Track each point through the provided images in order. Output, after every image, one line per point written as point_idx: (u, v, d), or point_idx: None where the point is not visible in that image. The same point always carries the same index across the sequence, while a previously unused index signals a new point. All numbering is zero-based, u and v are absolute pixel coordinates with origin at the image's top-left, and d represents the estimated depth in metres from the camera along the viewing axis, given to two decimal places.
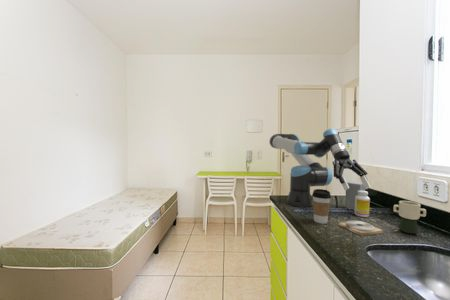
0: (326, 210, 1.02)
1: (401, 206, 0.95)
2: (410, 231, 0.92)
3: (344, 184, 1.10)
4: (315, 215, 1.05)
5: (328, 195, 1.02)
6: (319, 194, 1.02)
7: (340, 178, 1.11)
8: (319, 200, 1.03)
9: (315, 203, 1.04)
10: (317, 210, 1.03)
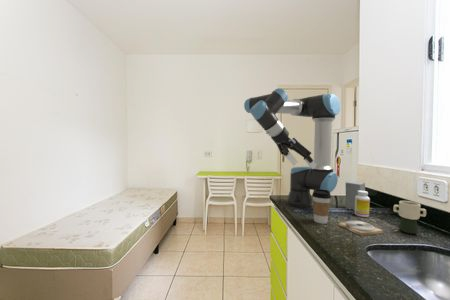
0: (326, 210, 1.02)
1: (401, 206, 0.95)
2: (410, 231, 0.92)
3: None
4: (315, 215, 1.05)
5: (328, 195, 1.02)
6: (319, 194, 1.02)
7: None
8: (319, 200, 1.03)
9: (315, 203, 1.04)
10: (317, 210, 1.03)
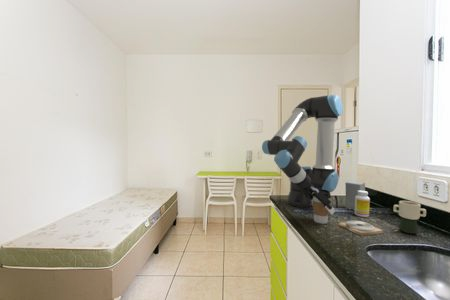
0: (326, 210, 1.02)
1: (401, 206, 0.95)
2: (410, 231, 0.92)
3: None
4: (315, 215, 1.05)
5: (328, 195, 1.02)
6: None
7: None
8: None
9: (315, 203, 1.04)
10: (317, 210, 1.03)
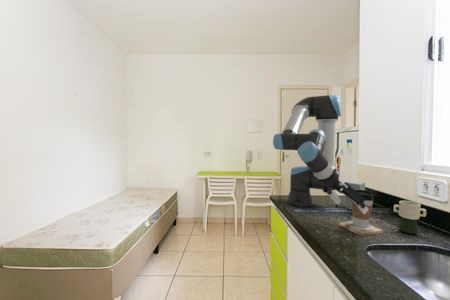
0: (368, 213, 0.93)
1: (401, 206, 0.95)
2: (410, 231, 0.92)
3: None
4: (355, 218, 0.96)
5: (372, 197, 0.93)
6: None
7: (329, 194, 1.02)
8: None
9: (356, 205, 0.95)
10: (358, 213, 0.94)
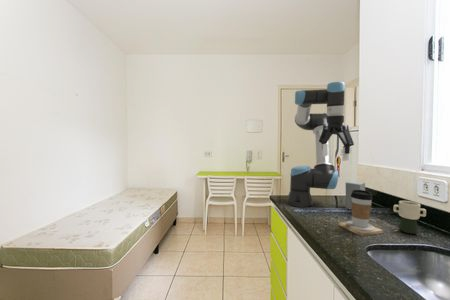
0: (368, 213, 0.94)
1: (401, 206, 0.95)
2: (410, 231, 0.92)
3: None
4: (355, 218, 0.96)
5: (370, 196, 0.93)
6: (360, 195, 0.94)
7: (322, 145, 1.16)
8: (360, 202, 0.94)
9: (355, 205, 0.95)
10: (358, 212, 0.95)
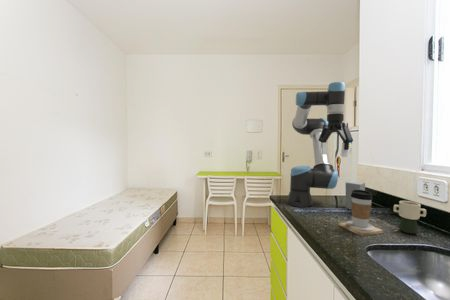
0: (368, 213, 0.94)
1: (401, 206, 0.94)
2: (410, 231, 0.92)
3: None
4: (355, 218, 0.96)
5: (370, 196, 0.93)
6: (360, 195, 0.94)
7: (321, 144, 1.19)
8: (360, 202, 0.94)
9: (355, 205, 0.95)
10: (358, 212, 0.95)
